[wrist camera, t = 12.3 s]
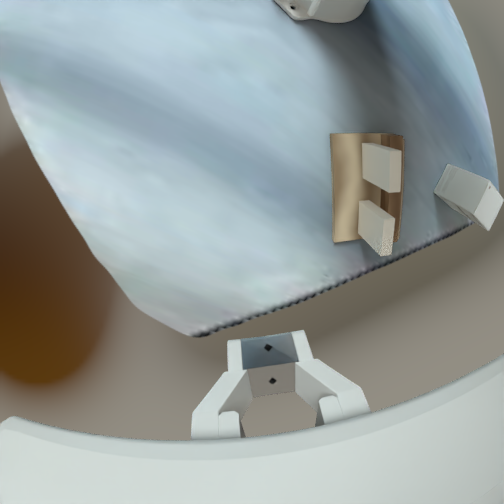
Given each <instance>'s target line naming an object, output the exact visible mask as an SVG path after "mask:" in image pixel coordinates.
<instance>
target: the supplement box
mask: <svg viewBox="0 0 504 504" xmlns="http://www.w3.org/2000/svg"><path fill="white" fill-rule="evenodd" d="M434 193H435V194H436V195H437V196H439V197H440V198H441V199H442V200H443V201H444V202H445V203H447V204H448V205H449V206H450V207H451V208H452V209H454V210H455V211H457V212H459V213H460V214H462V215H464V216H465V217H467V218H469V219H470V220H472V221H473V222H475V223H477V224H478V225H480V226H482V227H483V228H485V229H486V230H488V231H489V229H490V228H491V226H492V223H493V221H494V220H495V218H496V216H497V213H498V211H499V209H500V207H501V205H502V203H503V201H504V199H503V198H502V196H501V195H500V194H499V192H498V191H497V189H496V188H495V187H494V186H493V184H492V183H491V182H490V180H488V179H486V178H483V177H481V176H478V175H476V174H474V173H471V172H469V171H466V170H464V169H461V168H459V167H456V166H453V165H451V164H447V166H446V168H445V170H444V172H443V174H442V176H441V178H440V180H439V182H438V184H437V186H436V187H435V189H434Z"/></svg>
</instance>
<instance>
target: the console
mask: <svg viewBox="0 0 504 504" xmlns="http://www.w3.org/2000/svg"><path fill="white" fill-rule="evenodd" d="M362 143H375V144H379V145H383V146H386V147H390V148H393V149H397V150H400V151H401V189H400V192H394V193H388V192H387V191H385V190H383V189H381V188H380V187H378V186H376V185H374V184H372V183H371V182H369V181H367V180H365V179H363V173H362ZM330 149H331V171H332V240H333V241H334V243H335V242H342V241H350V240H357V239H363V238H362V237H361V236H360V235H359V234H358V220H359V201H365V200H370V201H371V202H373V203H374V204H376V205H377V206H378V207H380V208H381V209H383V210H384V211H385V212H387V213H388V214H390V215H391V216H392V217H394V218H395V225H394V235H393V242H397V240H398V239H399V235H400V226H401V215H402V203H403V186H404V139H403V136H400V135H395V134H387V133H336V134H330Z"/></svg>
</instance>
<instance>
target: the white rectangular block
mask: <svg viewBox="0 0 504 504" xmlns="http://www.w3.org/2000/svg"><path fill="white" fill-rule="evenodd" d="M394 225H395V218H394V217H392V216H391V215H390V214H388V213H387V212H385V211H384V210H383V209H381V208H380V207H378V206H377V205H376V204H374V203H373V202H371V201H370V200H365V201H359V220H358V234H359V235H360V236H361V237H362V238H363V239H364V240H365V241H366V242H367V243H368V244H369V245H370V246H371V247H372V248H373V249H374V250H375V251H376V252H377V253H378V254H379V255H380V256H386V255H391V253H392V244H393V235H394Z"/></svg>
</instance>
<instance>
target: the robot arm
mask: <svg viewBox="0 0 504 504" xmlns="http://www.w3.org/2000/svg"><path fill="white" fill-rule="evenodd" d="M274 1H275V2H276V3H277V4H278V5H279V6H280V7H281V8H282V9H283V10H284V11H285V12H286V13H287V14H288V15H289V16H290V17H291V18H293V19H295V20H307V19H316V20H321V21H325V22H330V23H344V22H348V21H351V20H354V19H355V18H357V17H358V16H359V15H360V14H361V13H362V12H363V10H364V8H365V5H366V4H367V2H368V1H369V0H274ZM290 7H294V8H295V9H294V10H293V9H291V8H290ZM227 349H228V372H224V373H223V375H222V376H221V377H220V379H219V380H218V381H217V382H216V384H215V385H214V386H213V388H212V389H211V390H210V391H209V393H208V394H207V395H206V396H205V398H204V399H203V400H202V402H201V403H200V404H199V405H198V406H197V408H196V409H195V410H194V412H193V413H192V429H191V440H190V441H177V440H175V441H174V440H147V439H132V438H122V437H113V436H104V435H98V434H91V433H85V432H79V431H74V430H68V429H64V428H59V427H55V426H50V425H46V424H42V423H38V422H34V421H31V420H28V419H24V418H21V417H17V416H12V417H9V418H8V419H6V420H5V421H3V422H2V423H1V424H0V504H504V354H502V355H501V356H499V357H497V358H496V359H494V360H492V361H491V362H489V363H487V364H485V365H483V366H482V367H480V368H478V369H476V370H474V371H472V372H470V373H468V374H466V375H464V376H462V377H460V378H458V379H456V380H454V381H452V382H450V383H448V384H446V385H444V386H441V387H439V388H437V389H434V390H432V391H430V392H427V393H425V394H422V395H420V396H417V397H415V398H412V399H410V400H407V401H404V402H401V403H399V404H396V405H393V406H390V407H387V408H384V409H381V410H378V411H375V412H371V411H370V408H369V406H368V403H367V401H366V398H365V396H364V394H363V391H362V389H361V387H359V386H358V385H356V384H355V383H353V382H352V381H350V380H349V379H347V378H346V377H344V376H342V375H341V374H340V373H338V372H336V371H335V370H334V369H332V368H331V367H329V366H327V365H326V364H325V363H323V362H322V361H320V360H319V359H314V358H313V355H312V352H311V349H310V346H309V343H308V340H307V337H306V334H305V331H304V330H301V331H295V332H291V333H290V332H289V333H283V334H277V335H270V336H264V337H256V338H247V339H240V340H229V341H228V343H227ZM293 391H295V392H296V393H297V394H298V395H299V396H300V397H301V398H302V399H303V400H304V401H305V402H306V403H307V404H309V405H310V406H311V407H312V408H313V409H314V410H315V411H316V412H317V418H316V424H315V427H312V428H307V429H302V430H296V431H291V432H284V433H278V434H271V435H264V436H255V437H246V436H245V433H244V430H243V427H242V423H241V419H242V418H243V416H244V414H245V412H246V410H247V409H248V407H249V405H250V403H251V401H252V399H253V397H259V396H265V395H272V394H278V393H287V392H293Z"/></svg>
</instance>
